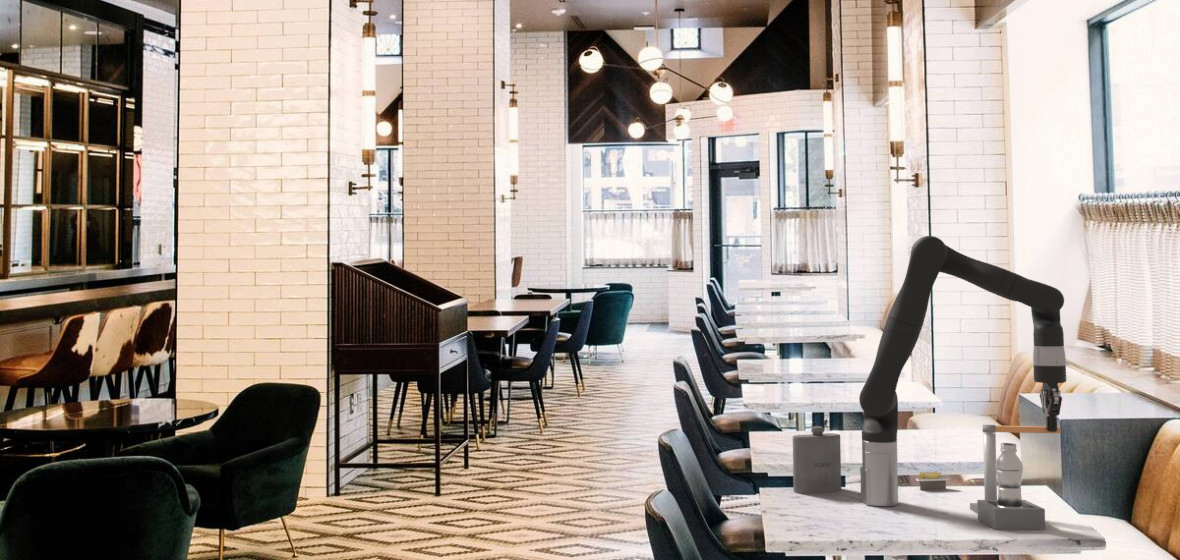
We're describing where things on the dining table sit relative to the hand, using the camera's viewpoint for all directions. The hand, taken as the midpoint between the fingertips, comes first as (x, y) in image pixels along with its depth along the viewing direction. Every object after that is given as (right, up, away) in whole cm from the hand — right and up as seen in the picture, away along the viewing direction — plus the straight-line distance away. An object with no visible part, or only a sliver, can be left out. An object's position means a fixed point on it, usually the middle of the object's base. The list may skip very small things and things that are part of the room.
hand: (1051, 431), depth 235 cm
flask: (-53, -24, +30) cm, 65 cm away
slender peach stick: (-6, -1, +4) cm, 7 cm away
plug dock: (-14, -22, -1) cm, 26 cm away
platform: (-19, -24, +32) cm, 44 cm away
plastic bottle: (-14, -22, -7) cm, 27 cm away
